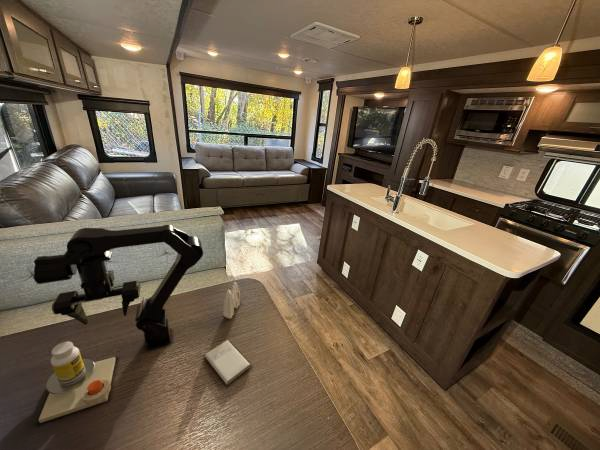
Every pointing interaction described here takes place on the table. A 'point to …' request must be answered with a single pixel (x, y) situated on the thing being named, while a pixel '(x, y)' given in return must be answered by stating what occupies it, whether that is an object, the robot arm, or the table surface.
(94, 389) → the tare button
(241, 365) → the hard drive
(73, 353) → the supplement bottle
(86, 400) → the scale
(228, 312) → the shaker set
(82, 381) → the scale pan
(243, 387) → the table surface
